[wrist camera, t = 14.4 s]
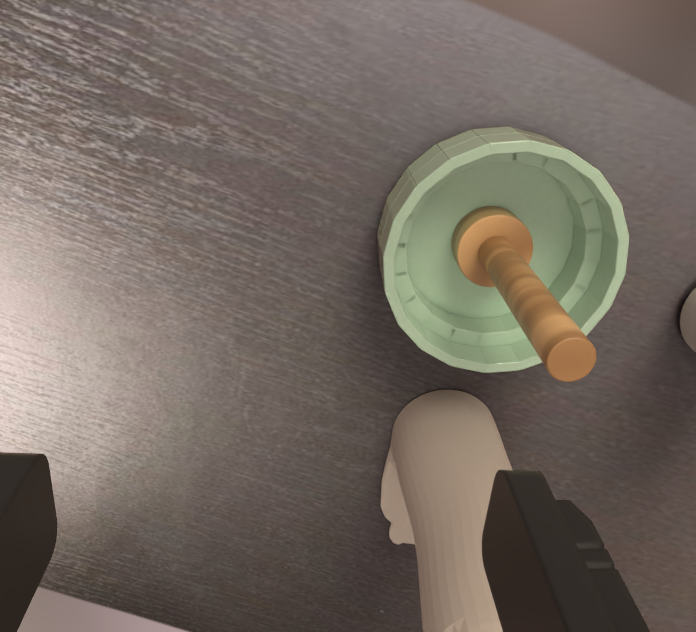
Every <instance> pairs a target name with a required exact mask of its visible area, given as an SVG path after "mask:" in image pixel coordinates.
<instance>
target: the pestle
mask: <svg viewBox="0 0 696 632" xmlns="http://www.w3.org/2000/svg"><path fill="white" fill-rule="evenodd" d="M451 246H452V253H453V256H454V258H455V260H456V262H457V264H458V266H459V268H460V270H461V272H462V273H463V274H464V276H465V277H466V278H467V279H469V280H470V281H471V282H473V283H475V284H477V285H480V286H484V287H496V288H497V290H498V291H499V293H500V294H501V296H502V298H503V299H504V301H505V303H506V304H507V306H508V307H509V309H510V311H511V312H512V314H513V315H514V317H515V319H516V320H517V322H518V324H519V325H520V327H521V328H522V330H523V332H524V333H525V335H526V336H527V338H528V340H529V341H530V343H531V345H532V346H533V348H534V349H535V351H536V353H537V354H538V356H539V357H540V359H541V361H542V362H543V364H544V366H545V367H546V369H547V370H548V372H549V373H550V375H551V376H552V377H554V378H555V379H557V380H560V381H565V382H571V381H576V380H579V379H581V378H583V377H585V376H586V375H587V374H588V373H589V372H590V371H591V370H592V369H593V367H594V365H595V362H596V350H595V348H594V346H593V345H592V343H591V342H590V341H589V340H588V338H587V337H586V336H585V335H584V333H583V332H582V331H581V330H580V328H579V327H578V326H577V325H576V323H575V322H574V321H573V320H572V318H571V317H570V316H569V315H568V313H567V312H566V311H565V310H564V308H563V307H562V306H561V305H560V303H559V302H558V301H557V300H556V298H555V297H554V296H553V295H552V293H551V292H550V291H549V290H548V288H547V287H546V286H545V285H544V283H543V282H542V281H541V280H540V278H539V277H538V276H537V275H536V274H535V272H534V271H533V270H532V269H531V267H530V266H529V263H530V261H531V258H532V254H533V240H532V237H531V234H530V232H529V230H528V229H527V227H526V226H525V225H524V224H523V223H522V222H521V221H520V220H519V219H518V217H517V216H516V215H515V214H513V213H512V212H511V211H509V210H507V209H505V208H502V207H498V206H485V207H481V208H478V209H475V210H473V211H471V212H470V213H468V214H467V215H466V216H465V217H463V218H462V219H461V221H460V222H459V223H458V225H457V226H456V228H455V230H454V233H453V236H452V242H451Z"/></svg>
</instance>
